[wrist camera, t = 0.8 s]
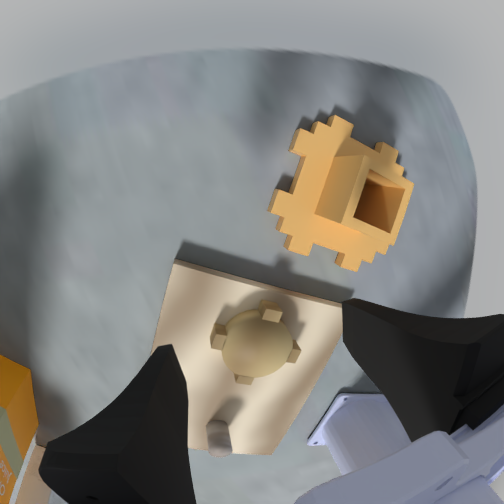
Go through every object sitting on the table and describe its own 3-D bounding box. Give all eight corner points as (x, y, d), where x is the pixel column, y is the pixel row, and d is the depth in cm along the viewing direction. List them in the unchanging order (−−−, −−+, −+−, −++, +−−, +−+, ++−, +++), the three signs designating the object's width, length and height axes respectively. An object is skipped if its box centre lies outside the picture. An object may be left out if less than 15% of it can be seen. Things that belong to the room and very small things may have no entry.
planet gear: (408, 162, 21) (450, 163, 16) (369, 274, 23) (405, 297, 18) (304, 105, 19) (335, 88, 14) (257, 238, 20) (276, 258, 16)
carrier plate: (345, 304, 23) (371, 328, 19) (268, 447, 27) (278, 476, 23) (174, 258, 20) (169, 279, 16) (136, 428, 23) (132, 460, 19)
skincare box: (34, 443, 22) (10, 514, 10) (63, 451, 23) (43, 528, 11) (50, 469, 23) (33, 534, 12) (77, 476, 24) (64, 545, 13)
